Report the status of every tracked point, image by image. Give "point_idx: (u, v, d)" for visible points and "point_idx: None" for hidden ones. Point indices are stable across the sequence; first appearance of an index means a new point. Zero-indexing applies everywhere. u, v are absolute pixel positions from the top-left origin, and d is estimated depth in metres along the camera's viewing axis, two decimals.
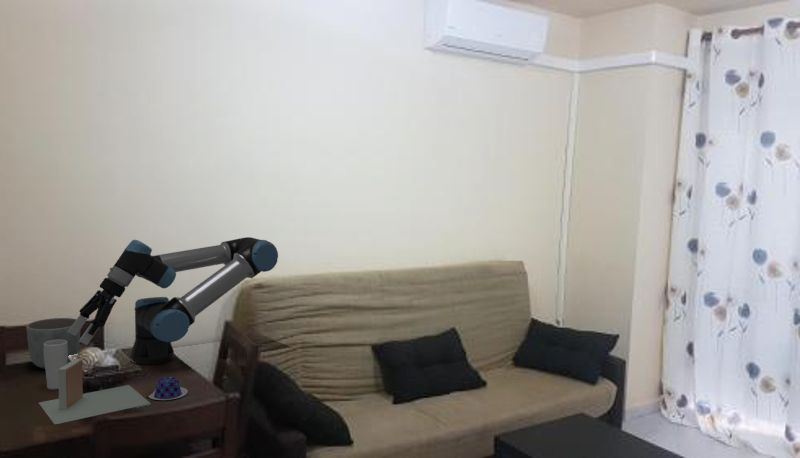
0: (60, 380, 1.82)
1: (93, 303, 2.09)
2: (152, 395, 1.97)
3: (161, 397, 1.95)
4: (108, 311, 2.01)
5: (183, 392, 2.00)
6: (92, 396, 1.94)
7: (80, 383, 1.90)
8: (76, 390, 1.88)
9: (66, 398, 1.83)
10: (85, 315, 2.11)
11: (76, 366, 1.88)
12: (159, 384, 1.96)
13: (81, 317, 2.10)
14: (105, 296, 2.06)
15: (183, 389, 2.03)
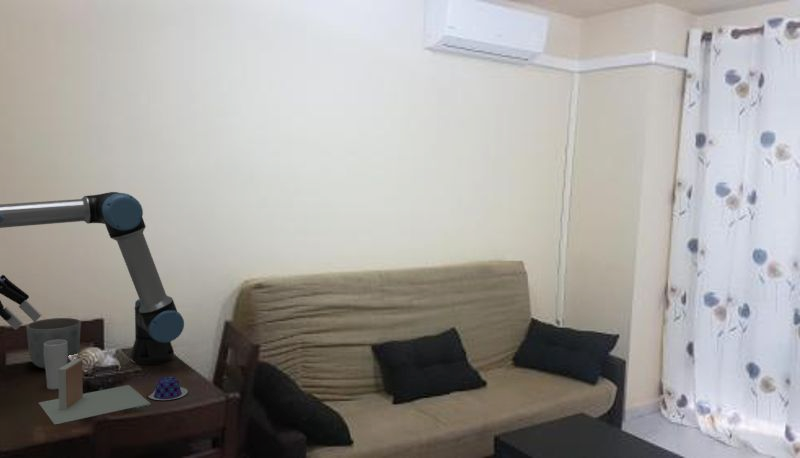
0: (60, 380, 1.82)
1: None
2: (152, 395, 1.97)
3: (161, 397, 1.95)
4: None
5: (183, 392, 2.00)
6: (92, 396, 1.94)
7: (80, 383, 1.90)
8: (76, 390, 1.88)
9: (66, 398, 1.83)
10: (22, 300, 1.90)
11: (76, 366, 1.88)
12: (159, 384, 1.96)
13: (21, 305, 1.89)
14: None
15: (183, 389, 2.03)
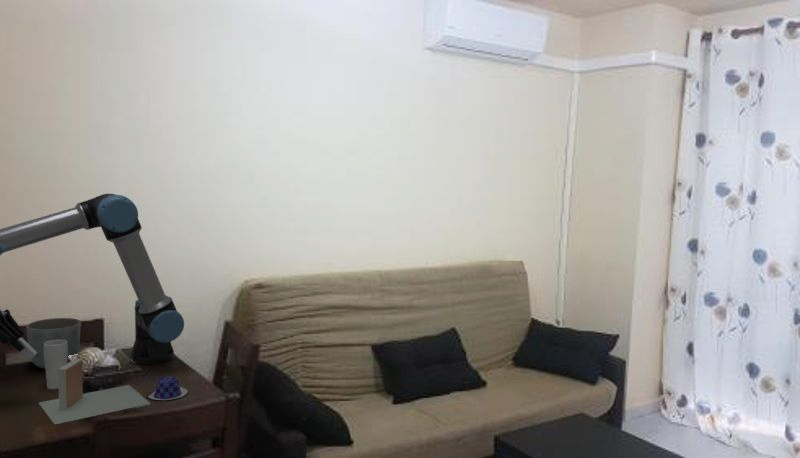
0: (60, 380, 1.82)
1: None
2: (152, 395, 1.97)
3: (161, 397, 1.95)
4: None
5: (183, 392, 2.00)
6: (92, 396, 1.94)
7: (80, 383, 1.90)
8: (76, 390, 1.88)
9: (66, 398, 1.83)
10: (16, 336, 1.86)
11: (76, 366, 1.88)
12: (159, 384, 1.96)
13: None
14: None
15: (183, 389, 2.03)
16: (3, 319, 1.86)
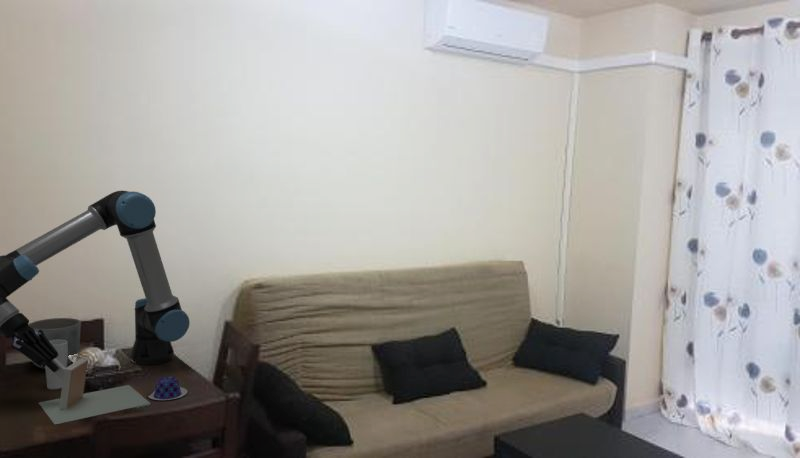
0: (64, 380, 1.82)
1: None
2: (152, 395, 1.97)
3: (161, 397, 1.95)
4: (29, 352, 1.81)
5: (183, 392, 2.00)
6: (92, 396, 1.94)
7: (82, 383, 1.90)
8: (78, 390, 1.88)
9: (68, 398, 1.83)
10: (51, 357, 1.87)
11: (81, 367, 1.88)
12: (159, 384, 1.96)
13: None
14: None
15: (183, 389, 2.03)
16: (37, 340, 1.86)
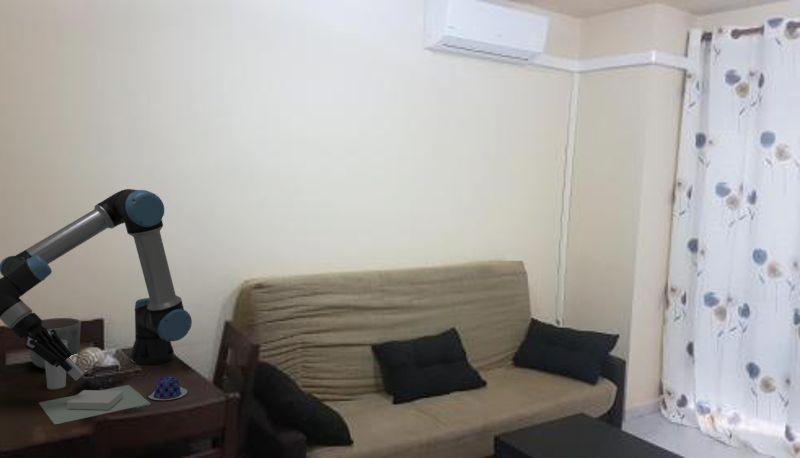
0: (96, 404, 1.83)
1: None
2: (152, 395, 1.97)
3: (160, 397, 1.95)
4: (43, 351, 1.81)
5: (183, 392, 2.00)
6: None
7: None
8: None
9: (78, 408, 1.83)
10: (64, 357, 1.87)
11: None
12: (158, 384, 1.96)
13: None
14: None
15: (183, 389, 2.03)
16: (50, 340, 1.86)
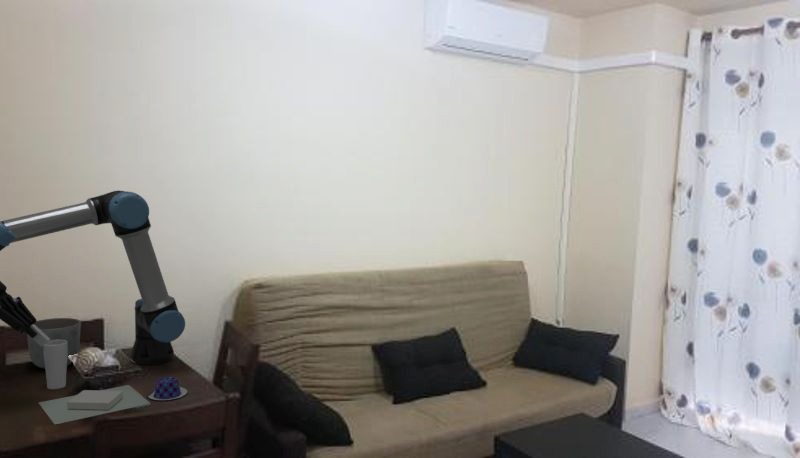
0: (96, 404, 1.83)
1: None
2: (151, 395, 1.97)
3: (160, 397, 1.95)
4: (7, 317, 1.81)
5: (183, 393, 2.00)
6: None
7: None
8: None
9: (78, 408, 1.83)
10: (29, 323, 1.87)
11: None
12: (158, 384, 1.96)
13: None
14: None
15: (183, 389, 2.02)
16: (15, 306, 1.86)
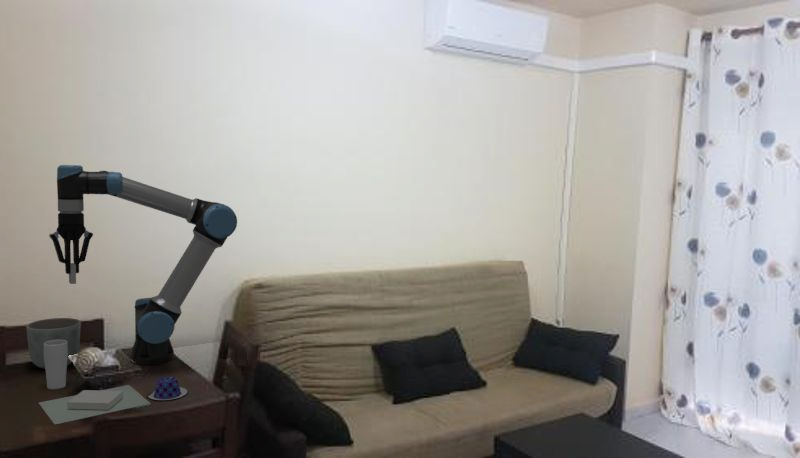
0: (96, 404, 1.83)
1: None
2: (152, 395, 1.97)
3: (159, 397, 1.95)
4: (56, 248, 2.03)
5: (183, 393, 2.00)
6: None
7: None
8: None
9: (78, 408, 1.83)
10: (75, 260, 2.07)
11: None
12: (158, 384, 1.96)
13: None
14: None
15: (183, 389, 2.02)
16: (75, 242, 2.06)
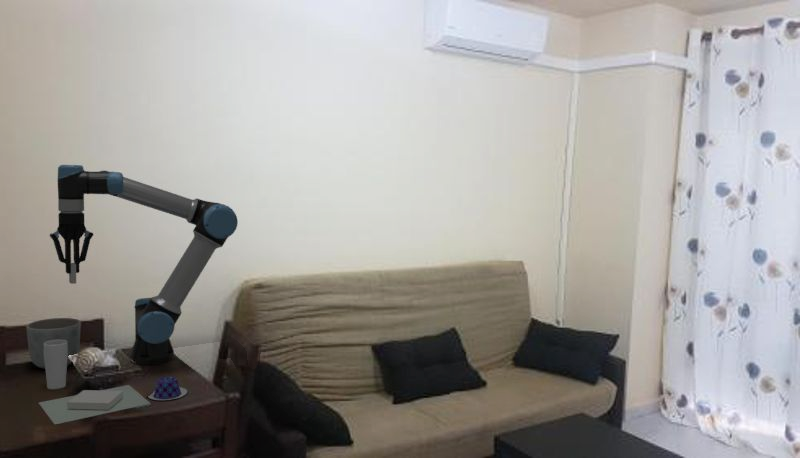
0: (96, 404, 1.83)
1: (73, 241, 2.08)
2: (152, 395, 1.98)
3: (159, 397, 1.95)
4: (56, 248, 2.03)
5: (183, 393, 2.00)
6: None
7: None
8: None
9: (78, 408, 1.83)
10: (75, 260, 2.07)
11: None
12: (158, 384, 1.96)
13: None
14: None
15: (183, 390, 2.02)
16: (75, 241, 2.06)
